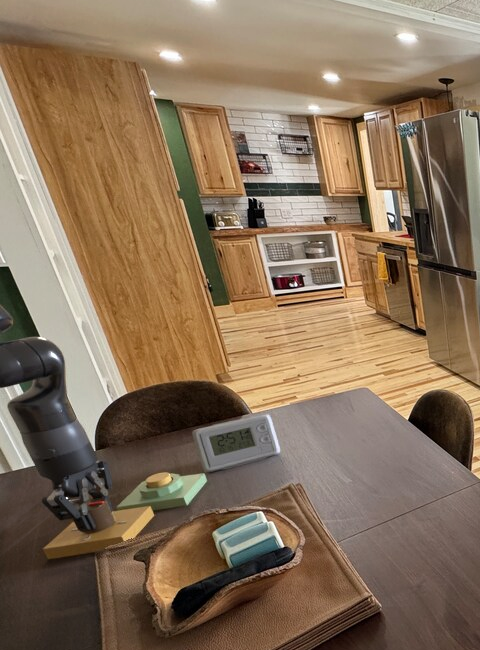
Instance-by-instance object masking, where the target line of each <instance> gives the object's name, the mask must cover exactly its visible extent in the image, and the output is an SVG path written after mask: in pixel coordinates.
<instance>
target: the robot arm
mask: <svg viewBox="0 0 480 650" xmlns="http://www.w3.org/2000/svg"><path fill="white" fill-rule="evenodd" d="M13 324H14V318H13V317H12V316H11V314H10V313H9V312H8V311H7V309H5V307H3V305H2V304H0V334H2V333H4V332H6V331H7V330H9V329H10V328H11V327H12V326H13ZM66 375H67V374H66V359H65V357H64V354H63V352H62V351H61V349H60V347H59V346H58V345H56V343H54V342H53V341H51V340H49V339H47V338H44V337H42V336H29V337H23V338H19V339H13V340H9V341H4V342H0V389H5V388H9V387H13V386H16V385H17V386H18V385H20V384H24V383H27V382H30V381H31V382H32V384H31V387H30V388H29V389H28V390H25V391H24V392H23V393H21V394H18V395H17V396H15V397H14V398H11V399H10V400H9V401H8V402H7V403H6V404H7V405H6V407H7V410H8V412H9V415H10V417H11V418H12V420H13V422H14V424H15V426H16V428H17V430H18V431H19V434H20V437H21V440H22V443H23V446H24V447H25V449H26V451H27V454H28V455H29V457H30V459H31V461H32V462H33V464H34V466H35V469H36V470H37V472H38V473H39V476H40V477H42V478H45V479H48V480H49V481H51V485H52V490H53V491H52V492H51V494H50V495H49V496H44V497H42V498H41V503H42V504H43V505H44V506H45V508H47V509H48V510H49V511H50V513H52V514H53V515H54V517H55V518H57V520H59V521H62V522H63V521H66V520H67V521H68V520H72V522H74V523H75V525H76V527H77V528H78V530H79V531H81V532H87V531H93V530H94V529H95V528H96V525H95V523H94V521H93V519H92V517H91V515H90V513H89V512H88V509H87V504H86V502H88V501H89V500H90V499H96V498H104V499H106V501H107V503H108V505H109V508H110V510H111V512H112V511H114V508H113V506H112V504H111V501H110V499H109V497H108V495H109V489H112V488H113V480H112V477H111V472H110V471H111V470H110V468H109V463H108V460H107V459H103V460H99V458H98V455H97V453H96V452H95V449H94V447H93V445H92V443H91V441H90V438H89V437H88V434H87V432H86V430H85V428H84V427H83V425H82V424H81V422H80V421H79V419H78V418H77V416H76V413H75V411H74V409H73V406H72V405H71V403H70V401H69V398H68V390H67V381H66V377H67V376H66ZM102 479H103V480H102ZM75 498H76V499H75ZM75 505H78V506H79V510H77V509H76V508H75V507H76V506H75Z"/></svg>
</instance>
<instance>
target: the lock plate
mask: <svg viewBox="0 0 480 650" xmlns="http://www.w3.org/2000/svg"><path fill="white" fill-rule="evenodd" d="M112 514H113V516H114V518H115V520H116V521H115V523H114V524H113V525H112V526H110V527H108V528H106V529H104V530H102V531H99V532H95V533H84V532H81V531H79V530H78V528H77V527H76V525H75V523H74V521H72V522H71V523H70V524H69V525H68V526H66V527H65V528H64V529H62V531H61V532H60V533H59V534H58V535H57V536H56V537H54V538H53V539H52V540H51V541H50V542H49V543H47V545H45V546H44V547H43V548H42V551H43V552H44V554H45V556H46V558H47V560H53V559H59V558H64V557H65V558H66V557H71V556H78V555H84V554H91V553H95V552H96V553H97V552H101V551H100V550H102V549H103V548H104V549H105V548H106V547H108V546H110V545H114V544H118V543H121V542H124V541H126V540H128V539H131V538H132V539H133V538H134V539H135V538H136V537H137V536H138V535H139V534H140V533H141V531H142V530H143V529H144V527H146V526H147V524H148V523H149V522H150V521H151V520H152V519H153V517H155V514H154V510H153V511H152V509H151V507H150V506H147V507H140V508H133V509H126V510H119V511H118V510H113V511H112ZM134 539H133V540H134ZM102 551H103V550H102Z"/></svg>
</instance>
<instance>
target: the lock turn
mask: <svg viewBox="0 0 480 650" xmlns="http://www.w3.org/2000/svg"><path fill="white" fill-rule="evenodd" d="M86 504H87V509H88V512H89V513H90V515H91V517H92V519H93V521H94V523H95V525H96V528H95V529H94V530H93V531H87V532H84V533H95V532H99V531H102V530H104V529H106V528H108V527H110V526H112V525H113V524H114V523H115V521H116V520H115V518H114V516H113V514H112V512H111V510H110V508H109V505H108V503H107V501H106V499H104V498H96V499H93V498H90V499H89V501H88V502H86ZM74 507H75V508H76V509H77V510H79V506H78V504H76V505H75V506H74Z"/></svg>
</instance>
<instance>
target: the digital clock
mask: <svg viewBox="0 0 480 650" xmlns="http://www.w3.org/2000/svg"><path fill="white" fill-rule="evenodd" d="M191 433H192V438H193V442H194V444H195V448H196V451H197V454H198V458H199V460H200V464H201V468H202V470H203V471H204V472H205V473H214V472H216V471H220V470H227V469H231V468H236V467H238V466H239V467H240V466H243V465H246V464H250V463H254V462H258V461H261V460H262V461H263V460H265V459H266V458H270V457H272V456H273V457H274V456H277V455H279V454H280V453H281V446H280V443H279V440H278V438H277V433H276V431H275V426H274V423H273V420H272V417H271V415H270V414H269V413H264V414H259V415H254V416H247V417H242V418H239V419H238V418H237V419H233V420H229V421H225V422H219V423H215V424H212V425H210V426H205V427H200V428H197V429H194V430H193V431H192V432H191Z"/></svg>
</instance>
